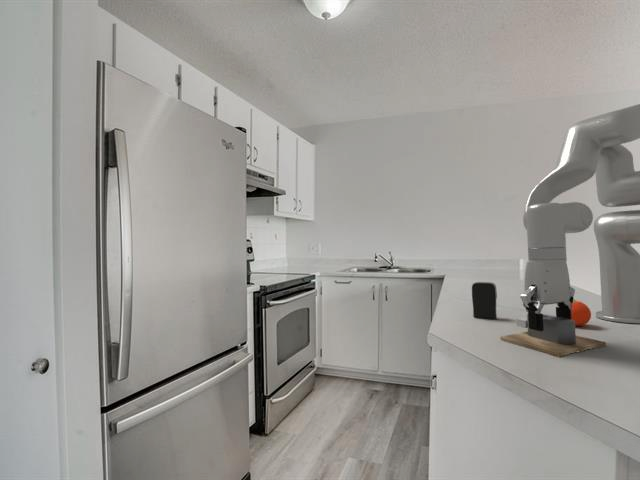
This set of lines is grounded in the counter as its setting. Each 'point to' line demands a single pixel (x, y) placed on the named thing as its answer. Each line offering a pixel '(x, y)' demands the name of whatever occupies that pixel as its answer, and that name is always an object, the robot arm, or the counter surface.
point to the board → (553, 344)
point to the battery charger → (484, 300)
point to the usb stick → (553, 329)
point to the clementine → (580, 313)
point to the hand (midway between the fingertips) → (550, 327)
